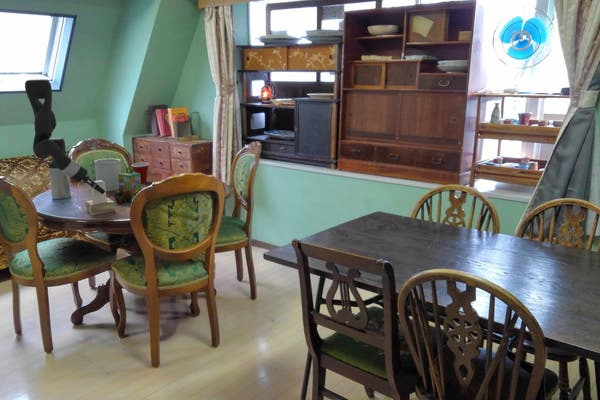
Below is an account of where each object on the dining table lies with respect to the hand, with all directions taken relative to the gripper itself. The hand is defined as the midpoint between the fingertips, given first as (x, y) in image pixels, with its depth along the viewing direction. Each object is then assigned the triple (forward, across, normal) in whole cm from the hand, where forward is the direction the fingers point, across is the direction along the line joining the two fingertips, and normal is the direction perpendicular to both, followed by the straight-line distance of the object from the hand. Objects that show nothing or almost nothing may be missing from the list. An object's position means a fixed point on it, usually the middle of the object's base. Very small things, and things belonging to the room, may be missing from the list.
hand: (101, 191), depth 249 cm
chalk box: (+24, +33, -9) cm, 42 cm away
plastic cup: (+35, +60, -20) cm, 72 cm away
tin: (+3, 0, +5) cm, 5 cm away
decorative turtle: (+17, +13, -2) cm, 22 cm away
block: (+6, 0, +8) cm, 10 cm away
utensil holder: (+19, +51, -5) cm, 55 cm away
